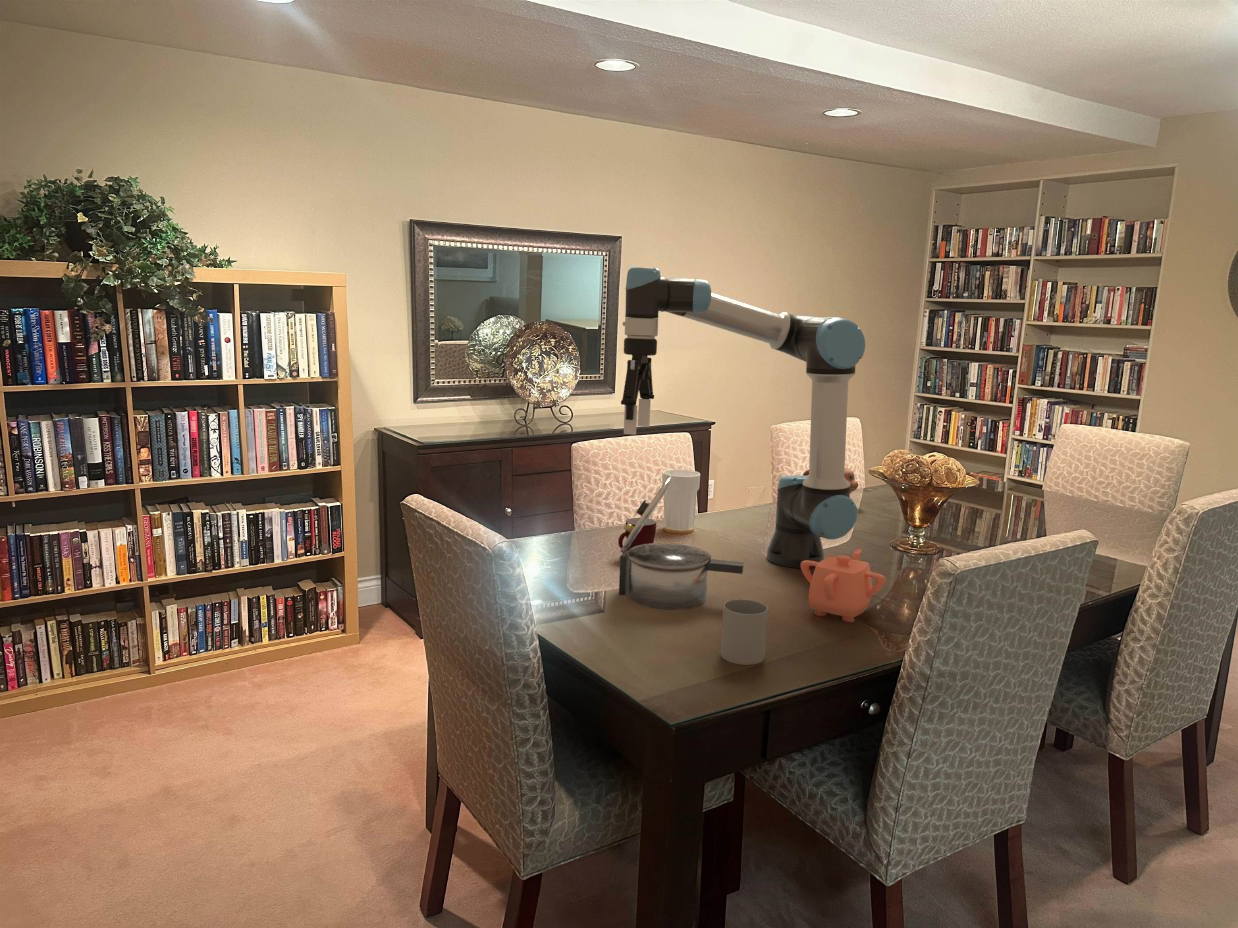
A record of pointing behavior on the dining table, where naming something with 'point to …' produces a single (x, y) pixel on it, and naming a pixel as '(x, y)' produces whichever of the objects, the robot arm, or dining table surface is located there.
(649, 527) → the mug
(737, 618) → the cup
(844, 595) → the teapot
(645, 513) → the lid
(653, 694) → the dining table surface
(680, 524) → the cup
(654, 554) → the pot
